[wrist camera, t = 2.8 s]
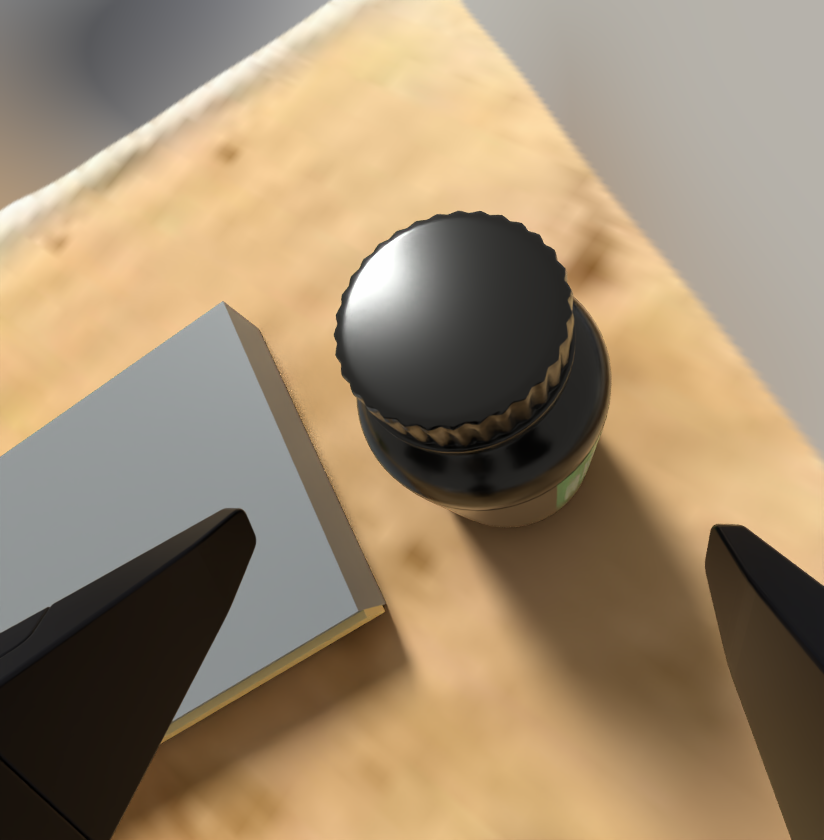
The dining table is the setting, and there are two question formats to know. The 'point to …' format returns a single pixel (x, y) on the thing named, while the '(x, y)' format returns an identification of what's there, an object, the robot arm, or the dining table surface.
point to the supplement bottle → (475, 367)
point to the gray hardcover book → (189, 503)
